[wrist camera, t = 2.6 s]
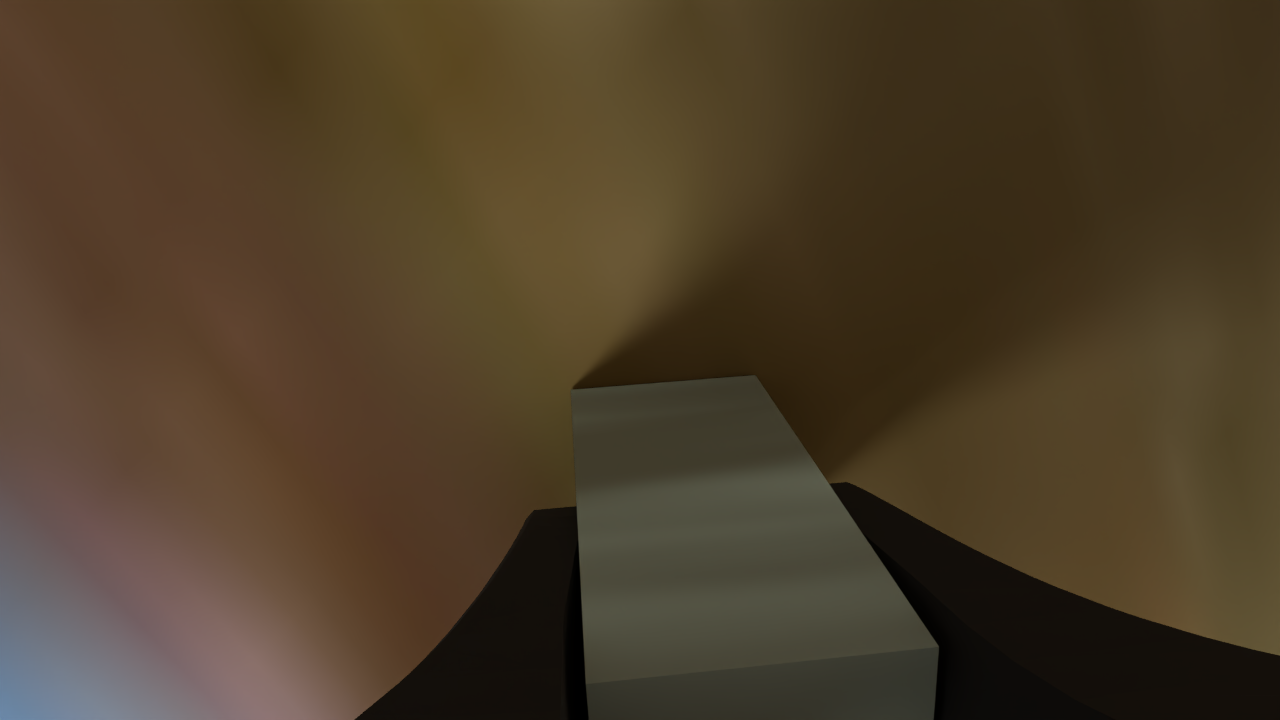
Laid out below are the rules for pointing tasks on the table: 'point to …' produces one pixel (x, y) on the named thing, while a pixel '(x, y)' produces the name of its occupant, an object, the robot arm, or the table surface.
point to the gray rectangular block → (729, 568)
